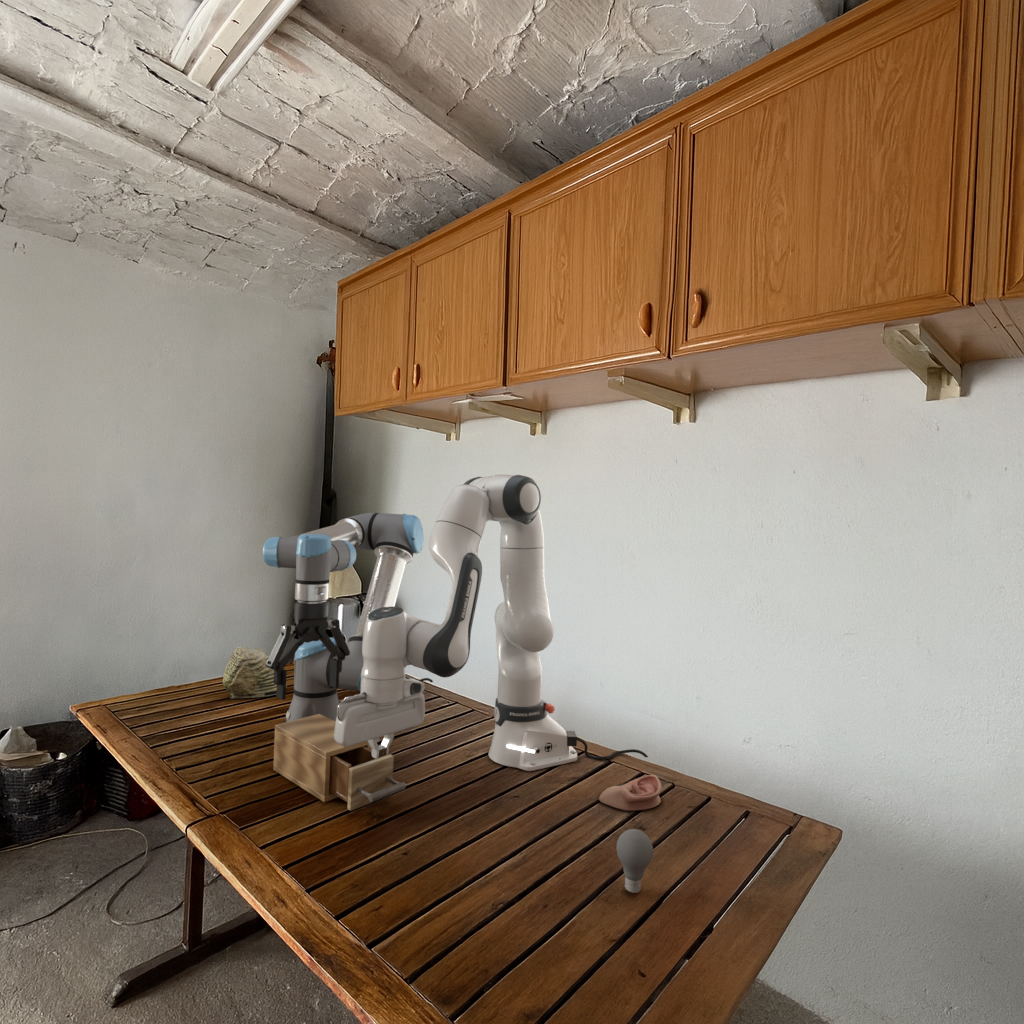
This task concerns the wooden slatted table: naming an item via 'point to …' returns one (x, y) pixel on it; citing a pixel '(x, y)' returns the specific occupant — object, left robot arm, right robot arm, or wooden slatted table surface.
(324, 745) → the cabinet
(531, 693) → the right robot arm
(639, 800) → the anatomical model
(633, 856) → the light bulb
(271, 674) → the fossil
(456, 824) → the wooden slatted table surface
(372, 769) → the drawer
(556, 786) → the wooden slatted table surface
